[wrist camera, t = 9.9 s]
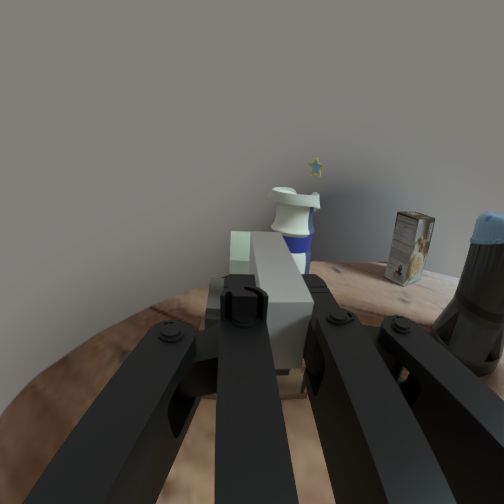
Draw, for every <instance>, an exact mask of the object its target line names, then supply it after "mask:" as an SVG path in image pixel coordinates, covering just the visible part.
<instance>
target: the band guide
mask: <svg viewBox="0 0 504 504" xmlns="http://www.w3.org/2000/svg"><path fill="white" fill-rule="evenodd" d="M224 279H225V278H211V282H210V288H209V294H208V301H207V307H206V314H205V318H201V320H200V326H199V330H204V329H208V328H210V327H212V326H214V325H216V324H217V323H218V322H219V321H220V295H221V293H222V291H223V288H224ZM275 371H276V377H277V383H278V388H279V394H280V399H298V398H306V396H307V393H308V392H307V388H306V386H305V390H304V393H301V394H300V388H301V384H302V380H303V374H302V371H301V368H296V369H275ZM201 398H203V399H217V393H214V394H210V395H205V396H201Z"/></svg>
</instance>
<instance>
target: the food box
mask: <svg viewBox="0 0 504 504" xmlns="http://www.w3.org/2000/svg"><path fill="white" fill-rule="evenodd" d="M434 222H435V218H433V217H430V216H427V215H424V214H421V213H418V212H397V218H396V223H395V229H394V234H393V239H392V244H391V248H390V253H389V258H388V262H387V266H386V270H385V274H384V277H386V278H388V279H390V280H392V281H393V282H395V283H397V284H399V285H401V286H406V285H408V284H411V283H413V282H416V281H418V280H420V279H421V276H422V272H423V269H424V265H425V261H426V257H427V253H428V249H429V245H430V240H431V236H432V232H433V227H434Z"/></svg>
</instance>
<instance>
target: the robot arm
mask: <svg viewBox="0 0 504 504" xmlns="http://www.w3.org/2000/svg"><path fill="white" fill-rule="evenodd" d="M470 242H471V244H470V248H469V252H468V255H467V259H466V262H465V265H464V269H463V272H462V275H461V278H460V281H459V284H458V287H457V290H456V292H455V295H454V297H453V299H452V300H451V301H450V303H449V304H448V305H447V307H446V308H445V309H444V310H443V312H442V313H441V314H440V315H439V317H438V318H437V319H436V320H435V322H434V324H433V326H432V328H431V331H430V333H429V334H428V333H427V332H425V331H424V330H423V329H422V328H421V327H419V326H418V325H417V324H416V323H414V322H413V321H411V320H410V319H408V318H405V317H403V316H388V317H386V318H384V320H383V322H382V325H381V327H373V326H366V325H362V324H361V323H360V321H359V320H358V318H357V317H356V316H355V315H354V314H353V313H352V312H350V311H348V310H346V309H342V308H340V307H339V305H338V304H337V302H336V300H335V299H334V297H333V295H332V293H330V290H329V288H327V285H326V283H325V282H324V280H323V279H321V278H320V277H319V276H317V275H316V274H301V273H300V271H299V269H298V267H297V265H296V263H295V261H294V259H293V257H292V255H291V253H290V250H289V248H288V246H287V244H286V242H285V240H284V238H283V236H282V234H281V232H254V231H251V234H250V254H249V274H229V275H228V276H227V277H226V278H225V279H224V288H223V291H222V293H221V295H220V321H219V322H218V323H217V324H216V325H214V326H212V327H210V328H208V329H204V330H199V331H194V329H193V327H192V326H190V325H189V324H188V323H185V322H182V321H176V320H169V321H163V322H160V323H158V324H155V325H154V326H153V327H152V328H151V329H150V330H149V331H148V332H147V333H146V335H145V336H144V337H143V338H142V340H141V341H140V342H139V343H138V345H137V346H136V347H135V349H134V350H133V351H132V352H131V354H130V355H129V356H128V357H127V359H126V360H125V361H124V363H123V364H122V365H121V367H120V368H119V369H118V370H117V372H116V373H115V374H114V376H113V377H112V378H111V380H110V381H109V382H108V383H107V385H106V386H105V387H104V389H103V390H102V391H101V393H100V394H99V395H98V397H97V398H96V399H95V401H94V402H93V403H92V405H91V406H90V407H89V409H88V410H87V411H86V413H85V414H84V416H83V417H82V418H81V420H80V421H79V422H78V424H77V425H76V426H75V428H74V429H73V431H72V432H71V433H70V435H69V436H68V438H67V439H66V440H65V442H64V443H63V445H62V446H61V447H60V449H59V450H58V452H57V453H56V454H55V456H54V457H53V459H52V460H51V462H50V463H49V465H48V466H47V467H46V469H45V470H44V472H43V473H42V475H41V476H40V478H39V479H38V481H37V482H36V484H35V485H34V487H33V488H32V490H31V491H30V493H29V494H28V496H27V497H26V499H25V500H24V502H23V504H155V503H156V501H157V499H158V497H159V494H160V492H161V490H162V488H163V485H164V483H165V481H166V478H167V476H168V474H169V472H170V469H171V467H172V465H173V462H174V460H175V458H176V456H177V453H178V451H179V449H180V446H181V444H182V442H183V439H184V437H185V435H186V433H187V430H188V428H189V426H190V423H191V421H192V419H193V416H194V414H195V412H196V409H197V407H198V405H199V402H200V400H201V396H205V395H210V394H214V393H217V402H216V434H215V504H299V502H298V496H297V490H296V485H295V479H294V473H293V468H292V462H291V456H290V451H289V445H288V439H287V433H286V428H285V422H284V416H283V411H282V405H281V400H280V394H279V388H278V383H277V377H276V371H275V369H296V368H301V365H302V360H303V357H304V361H305V364H306V368H305V372H304V376H303V380H302V384H301V388H300V394H301V393H304V390H305V386H306V388H307V392H308V396H309V400H310V404H311V407H312V411H313V415H314V419H315V423H316V426H317V430H318V434H319V438H320V442H321V446H322V450H323V454H324V458H325V462H326V466H327V470H328V474H329V478H330V482H331V486H332V490H333V494H334V498H335V502H336V504H504V401H503V400H502V399H501V398H500V397H499V396H498V395H497V394H496V393H495V392H494V391H493V390H492V389H490V388H489V387H488V386H487V385H486V384H485V383H484V382H483V381H482V380H481V379H480V378H478V377H477V376H483V375H487V374H489V373H491V372H492V371H493V370H494V369H495V367H496V365H497V364H498V362H499V360H500V358H501V356H502V352H503V348H504V214H497V213H490V212H489V213H488V212H486V213H482V214H481V215H480V216H479V217H478V218H477V220H476V224H475V228H474V232H473V235H472V237H471V238H470ZM404 367H405V368H406V369H407V370H408V371H409V372H410V374H409V375H408V377H407V379H406V380H404V379H403V378H401V377H400V375H401V373H402V371H403V369H404Z"/></svg>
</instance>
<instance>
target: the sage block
mask: <svg viewBox="0 0 504 504" xmlns="http://www.w3.org/2000/svg"><path fill="white" fill-rule="evenodd" d="M250 234H251V232H239V231H231V246H230V268H229V274H249V254H250Z"/></svg>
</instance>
